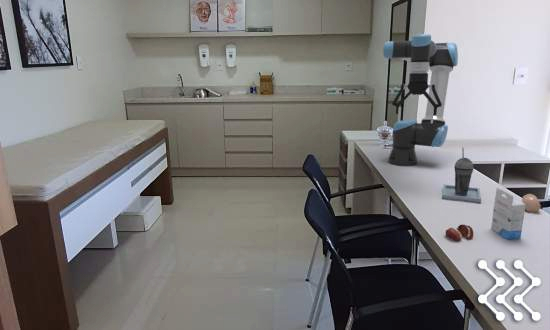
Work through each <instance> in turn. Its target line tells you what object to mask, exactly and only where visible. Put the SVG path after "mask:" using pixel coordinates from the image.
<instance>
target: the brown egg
mask: <svg viewBox="0 0 550 330" xmlns="http://www.w3.org/2000/svg"><path fill="white" fill-rule="evenodd" d="M539 201H540V200H538V198H537V196H536V195H535V194H532V193H526V194H525V195H523V196H522V198H521V202H522V203H524V204H526V206H525V210H526V211H527V212H528V213H533V214H535V213H538V212H539V211H540V210H541V207H542V206H541V203H540V202H539Z"/></svg>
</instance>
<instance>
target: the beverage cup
mask: <svg viewBox="0 0 550 330" xmlns="http://www.w3.org/2000/svg"><path fill="white" fill-rule="evenodd" d="M461 149H462V151H461V152H462V157H461V158H459V159H458V160H456V162H455V164H454V186H455V194H456V195H459V196H466V195H467V193H468V189H469V187H470V183H471V180H472V179H471V178H472V174H473V172H474V170H475V168H474V163H473V161H472V160H471V159H470V158H468V157H465V150H464V149H465V148H464V147H462V148H461Z"/></svg>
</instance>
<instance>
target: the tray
mask: <svg viewBox="0 0 550 330" xmlns="http://www.w3.org/2000/svg"><path fill="white" fill-rule="evenodd" d="M442 188H443V189H442V190H443V191H442V200H447V201H449V200H451V201H458V202H467V203H475V204H481V202H482V196H481V190H480V188H479V187H472V186H471V187H470V186H469V189H468V193H467V195H466V196H459V195H456V194H455V185H454V184H453V185H451V184H443V187H442Z"/></svg>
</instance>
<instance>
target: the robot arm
mask: <svg viewBox="0 0 550 330" xmlns="http://www.w3.org/2000/svg"><path fill="white" fill-rule="evenodd" d="M382 48H383V49H382V51H383V52H382V53H383V54H382V55H383V57H384V58H385V59H398V60H403V61H406V62H407V63H409V65H410V66H409V78H408V84H405V83H402V84H400V89H399V91H398V92H397V94H396V96H395V98H394V100H393V102H392V103H391V105H392V106H395V114H396V115H397V121H396V122H395V123H394V124H393V130H392V132H393V133H392V134H393V135H392V149H391V150H390V153H389V156H388V163H389V164H392V165H395V166H406V167H407V166H415V165H417V164H418V157H417V153H416V149H415V147H416V146H423V147H431V148H434V147H435V148H439V147H443V145H444V143H445V141H446V138H447V135H448V130H449V126H448V125H447V124H446V120H444V112H445V111H444V110H445V105H446V100H447V99H446V98H447V91H448V84H449V78H450V73H451V72H452V71H454V68H455V67H457V66H458V62H459V61H458V60H459V58H458V57H459V55H458V54H459V53H458V46H457V44H456V43H455V42H436V43H435V42H434V41H433V40H432V35H431V34H430V33H429V34H428V33H427V34H426V33H422V34H419V33H418V34H414V35H412V38H411V40H396V41H395V40H392V41H386V42H384V44H383V47H382ZM429 71H430V72H431V75H430V82H429V80H428V79H429V73H428V72H429ZM428 82H429V84H428ZM406 89H408V92H407V93H406V94H405V95H404V96H403V97H402V98H401V99H400V97H401V96H402V94H403V92H404V90H406ZM427 90H428V92H427ZM410 95H414V96H416V95H419V96H422V95H423V96H424V97H425V98H426V99H427V102H426V108H425V109H426V111H425V115H424V117H423V118H422V119H421V121H420V123H419V122H418V120H416V119H405V120H401V115H402V104H403V103H404V102H405V101H406V100H407V99H408V98H409V96H410ZM399 99H400V100H399ZM398 100H399V101H398Z"/></svg>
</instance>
